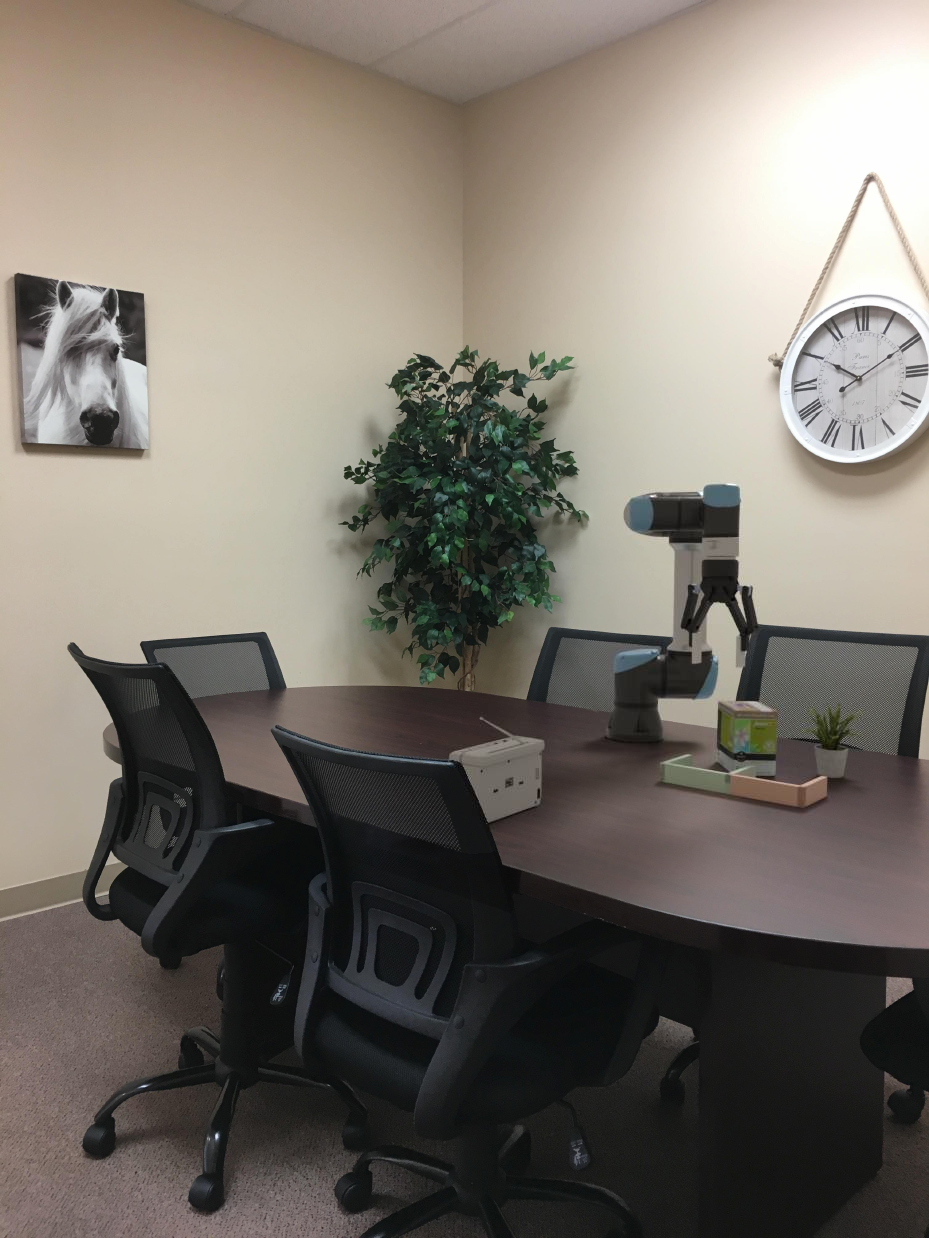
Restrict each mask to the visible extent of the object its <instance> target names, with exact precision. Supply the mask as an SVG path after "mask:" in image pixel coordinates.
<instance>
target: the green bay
mask: <svg viewBox="0 0 929 1238" xmlns="http://www.w3.org/2000/svg"><path fill="white" fill-rule="evenodd" d="M692 758H693V755H692V754H687V753H686V754H684V755H681V756H678V757H674V758H671V759H667V760H665V761H662V762H659V782H661V783H667V784H673V785H677V786H683V787H688V788H694V789H699V790H700V789H701V790H703V791H704V790H706V791H709V792H714V793H721V794H726V795H731V794H730V777H731V775H732V774H736V775H742V776H747V777H753V778H757V776H756V765H748V766H746V767H743V768H740V769H738V770H735V771H732V772H723V771H717V770H711V769H705V768H700V767H693V765H692V764H693V759H692Z"/></svg>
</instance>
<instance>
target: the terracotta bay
mask: <svg viewBox="0 0 929 1238" xmlns="http://www.w3.org/2000/svg"><path fill="white" fill-rule="evenodd" d="M827 792H828V777H824V776H820V775H819V777H816V778H814V779H811V780H810V781H807V782H805V783H803V784H794V783H787V782H782V781H781V782H780V781H775V780H770V779H764V778H757V777H756V778H753V777H747V776H742V775H736V774H732V775H731V777H730V794H729V795H730V796H731V795H732V796H736V797H743V798H748V799H752V800H756V801H757V800H759V801H762V802H768V803H769V802H770V803H773V804H779V805H785V806H789V807H791V806H792V807H796V808H799V809H800V808H801V809H804V808H806V807H808V806H809V805H813V804H814V803H816V802H818V801H821V800H823V799H825V798H826V797H827V796H828V793H827Z"/></svg>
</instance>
